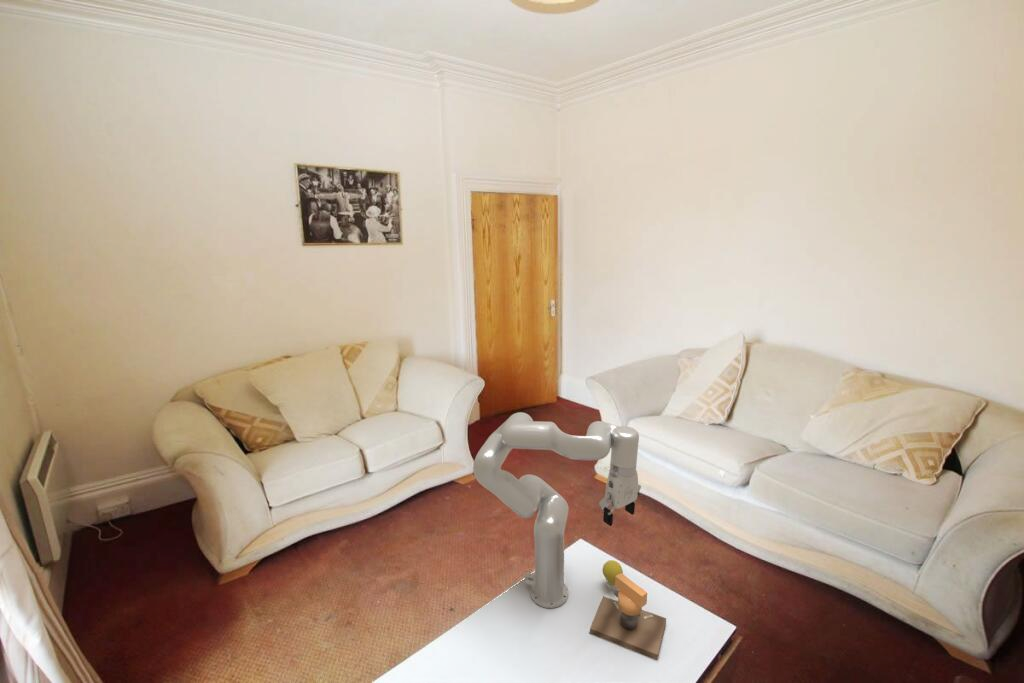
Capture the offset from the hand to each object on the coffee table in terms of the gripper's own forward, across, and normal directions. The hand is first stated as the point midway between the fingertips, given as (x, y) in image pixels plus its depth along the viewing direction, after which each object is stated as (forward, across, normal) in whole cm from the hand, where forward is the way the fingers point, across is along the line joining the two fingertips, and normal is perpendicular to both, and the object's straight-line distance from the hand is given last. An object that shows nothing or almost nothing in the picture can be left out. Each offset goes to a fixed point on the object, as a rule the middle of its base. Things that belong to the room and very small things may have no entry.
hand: (618, 517), depth 144 cm
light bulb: (+33, +6, +5) cm, 34 cm away
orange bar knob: (+25, -2, -9) cm, 26 cm away
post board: (+33, -2, -9) cm, 34 cm away
